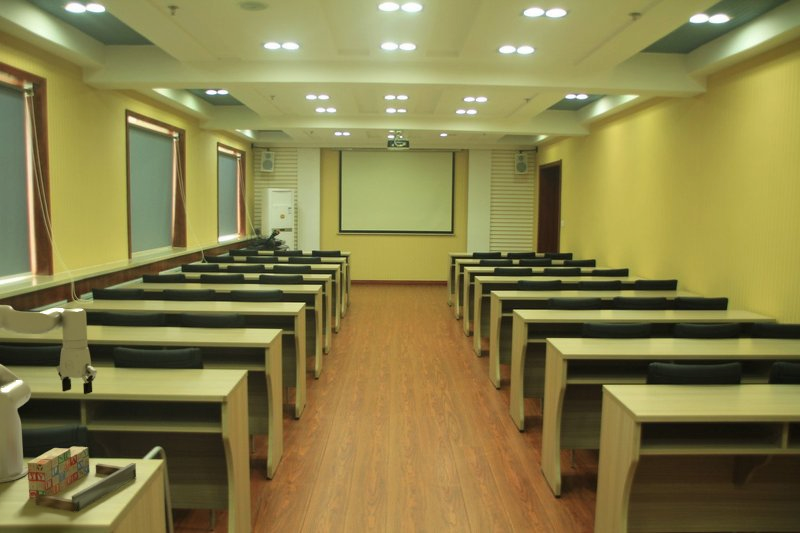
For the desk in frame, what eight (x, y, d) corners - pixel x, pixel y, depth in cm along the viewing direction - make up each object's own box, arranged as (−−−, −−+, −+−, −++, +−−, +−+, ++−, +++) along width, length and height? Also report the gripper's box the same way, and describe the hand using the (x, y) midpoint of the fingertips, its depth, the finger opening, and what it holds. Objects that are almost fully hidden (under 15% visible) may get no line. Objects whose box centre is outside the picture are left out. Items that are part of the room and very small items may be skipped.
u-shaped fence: (35, 505, 192) (34, 489, 192) (98, 471, 217) (98, 457, 217) (76, 512, 188) (75, 496, 187) (136, 477, 213) (135, 463, 212)
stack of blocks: (74, 471, 218) (72, 437, 217) (90, 472, 217) (88, 438, 216) (28, 498, 197) (26, 461, 196) (46, 500, 196) (44, 463, 195)
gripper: (47, 344, 212) (49, 392, 214) (85, 348, 207) (87, 397, 208) (65, 340, 219) (67, 386, 221) (103, 343, 214) (105, 391, 215)
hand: (77, 391), depth 215 cm, fingers open, 9 cm apart
